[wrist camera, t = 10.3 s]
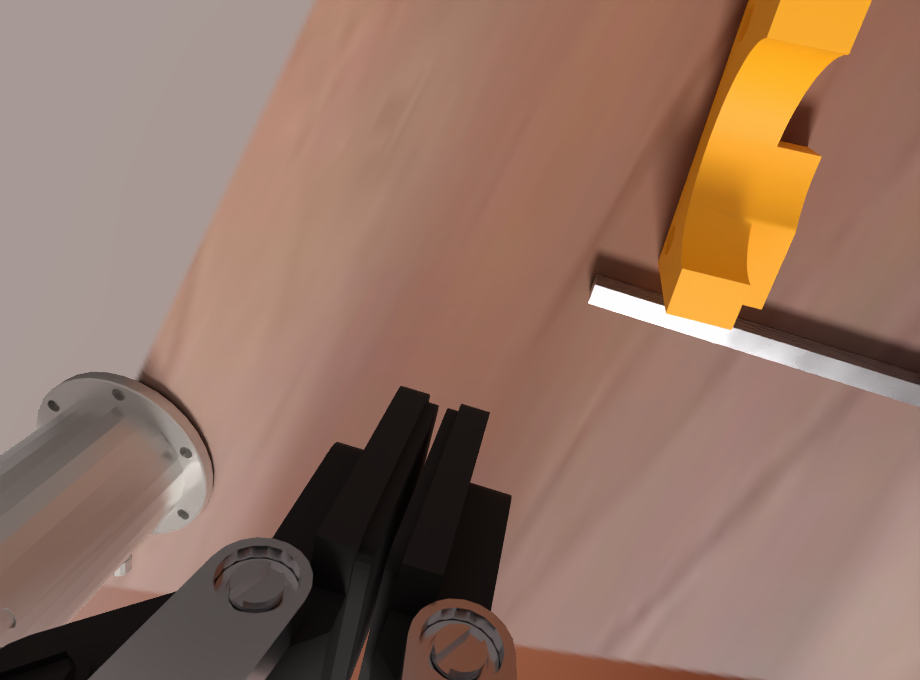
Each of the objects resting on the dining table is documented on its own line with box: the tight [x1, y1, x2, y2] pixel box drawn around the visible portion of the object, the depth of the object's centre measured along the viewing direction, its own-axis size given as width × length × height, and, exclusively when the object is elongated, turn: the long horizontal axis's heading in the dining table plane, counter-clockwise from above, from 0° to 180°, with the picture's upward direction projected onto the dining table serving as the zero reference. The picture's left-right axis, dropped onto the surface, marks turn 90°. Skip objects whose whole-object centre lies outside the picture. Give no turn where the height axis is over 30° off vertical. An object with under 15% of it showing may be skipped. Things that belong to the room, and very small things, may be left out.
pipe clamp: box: [658, 0, 872, 330], centre depth 26 cm, size 12×4×6 cm, turn 170°
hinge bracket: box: [588, 274, 920, 407], centre depth 27 cm, size 18×21×2 cm
